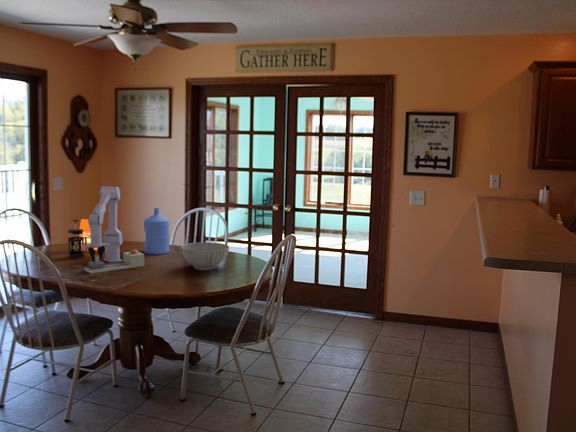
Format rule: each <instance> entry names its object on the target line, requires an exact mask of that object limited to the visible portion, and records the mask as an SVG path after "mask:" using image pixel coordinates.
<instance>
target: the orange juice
mask: <svg viewBox="0 0 576 432" xmlns="http://www.w3.org/2000/svg"><path fill="white" fill-rule="evenodd" d="M78 229H84V230H83V234H78V235H79V236H78V237H87V245H88V244H91V239H90V228H89V223H88V218H86V219H83V218H82V219H81V220H80V225H79V228H78ZM84 245H85V238H84ZM81 246H82V241H81ZM93 249H94V250H96V251H98V250H97V249H98V248H93ZM81 251H82V249H81ZM84 251H85V249H84ZM87 251H88V249H87Z"/></svg>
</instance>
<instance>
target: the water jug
mask: <svg viewBox="0 0 576 432" xmlns="http://www.w3.org/2000/svg"><path fill="white" fill-rule="evenodd" d="M143 229H144V230H143V231H144V232H145V240H144V243H143V245H144V248H143V249H144V250H143V252H144V254H147V255H164V254H168V253H169V252H170V219H169V218H167V217H165V216H162V215H161V214H160V208H158V207H156V208H153V215H151V216H149V217H147V218H144V220H143Z"/></svg>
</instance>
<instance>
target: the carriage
mask: <svg viewBox="0 0 576 432" xmlns="http://www.w3.org/2000/svg"><path fill="white" fill-rule="evenodd" d="M105 264H106V262H103V261H102V260H101V261H100V258H99V255H98V254H95V262H93V261H88V266H91V267H93V268H98V267H105Z"/></svg>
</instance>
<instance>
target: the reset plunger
mask: <svg viewBox="0 0 576 432" xmlns="http://www.w3.org/2000/svg"><path fill="white" fill-rule="evenodd" d="M129 252H130V253H131V254H137V252H138V249H135V248H134V249H130V250H129Z"/></svg>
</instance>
